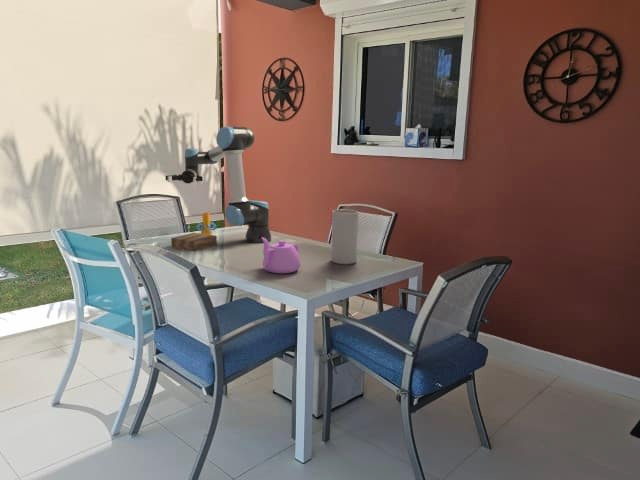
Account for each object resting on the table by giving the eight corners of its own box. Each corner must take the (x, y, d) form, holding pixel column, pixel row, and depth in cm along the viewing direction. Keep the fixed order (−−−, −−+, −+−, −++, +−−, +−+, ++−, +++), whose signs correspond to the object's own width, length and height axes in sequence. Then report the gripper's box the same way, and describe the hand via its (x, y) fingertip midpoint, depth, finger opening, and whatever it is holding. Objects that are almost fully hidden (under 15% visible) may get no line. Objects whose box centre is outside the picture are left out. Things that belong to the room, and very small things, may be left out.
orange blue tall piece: (219, 236, 295) (218, 211, 292) (213, 239, 285) (213, 214, 282) (199, 235, 296) (198, 210, 293) (193, 238, 286) (192, 213, 283)
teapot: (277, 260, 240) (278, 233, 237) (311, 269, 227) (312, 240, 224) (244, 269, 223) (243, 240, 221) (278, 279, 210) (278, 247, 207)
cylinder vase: (360, 260, 244) (362, 211, 239) (349, 266, 233) (351, 214, 228) (338, 257, 250) (340, 208, 245) (326, 262, 240) (327, 211, 234)
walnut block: (216, 244, 272) (216, 235, 271) (194, 250, 257) (194, 241, 256) (194, 241, 279) (194, 232, 278) (171, 247, 264) (171, 238, 263)
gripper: (210, 183, 287) (204, 187, 267) (167, 182, 286) (158, 186, 265) (210, 170, 286) (204, 173, 265) (166, 169, 284) (157, 172, 263)
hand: (181, 179), depth 265 cm, fingers open, 13 cm apart
